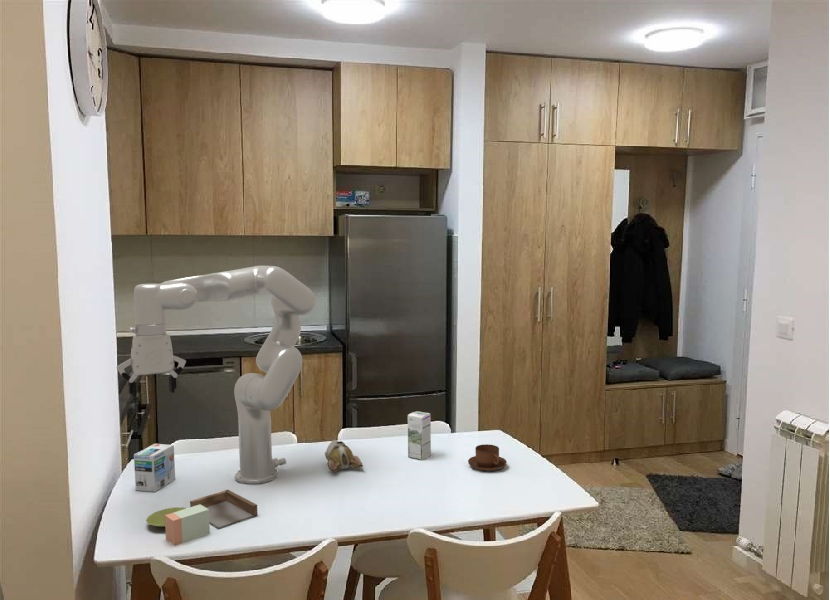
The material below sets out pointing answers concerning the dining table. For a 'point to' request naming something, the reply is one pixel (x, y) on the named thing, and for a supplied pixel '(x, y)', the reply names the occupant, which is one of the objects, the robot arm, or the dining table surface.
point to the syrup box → (419, 435)
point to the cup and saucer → (487, 458)
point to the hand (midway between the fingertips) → (153, 394)
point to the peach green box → (187, 524)
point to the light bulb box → (154, 467)
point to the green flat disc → (161, 516)
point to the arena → (226, 508)
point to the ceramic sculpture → (341, 456)
